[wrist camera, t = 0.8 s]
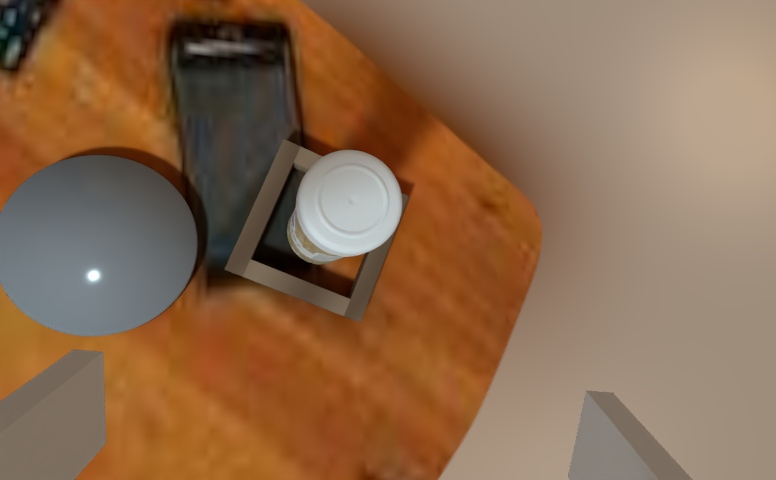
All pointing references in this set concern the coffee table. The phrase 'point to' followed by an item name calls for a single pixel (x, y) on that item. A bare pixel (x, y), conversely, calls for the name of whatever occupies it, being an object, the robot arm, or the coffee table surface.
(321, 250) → the sprinkles bottle
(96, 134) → the coffee table surface
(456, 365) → the coffee table surface
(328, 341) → the coffee table surface
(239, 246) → the gray square frame
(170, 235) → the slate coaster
